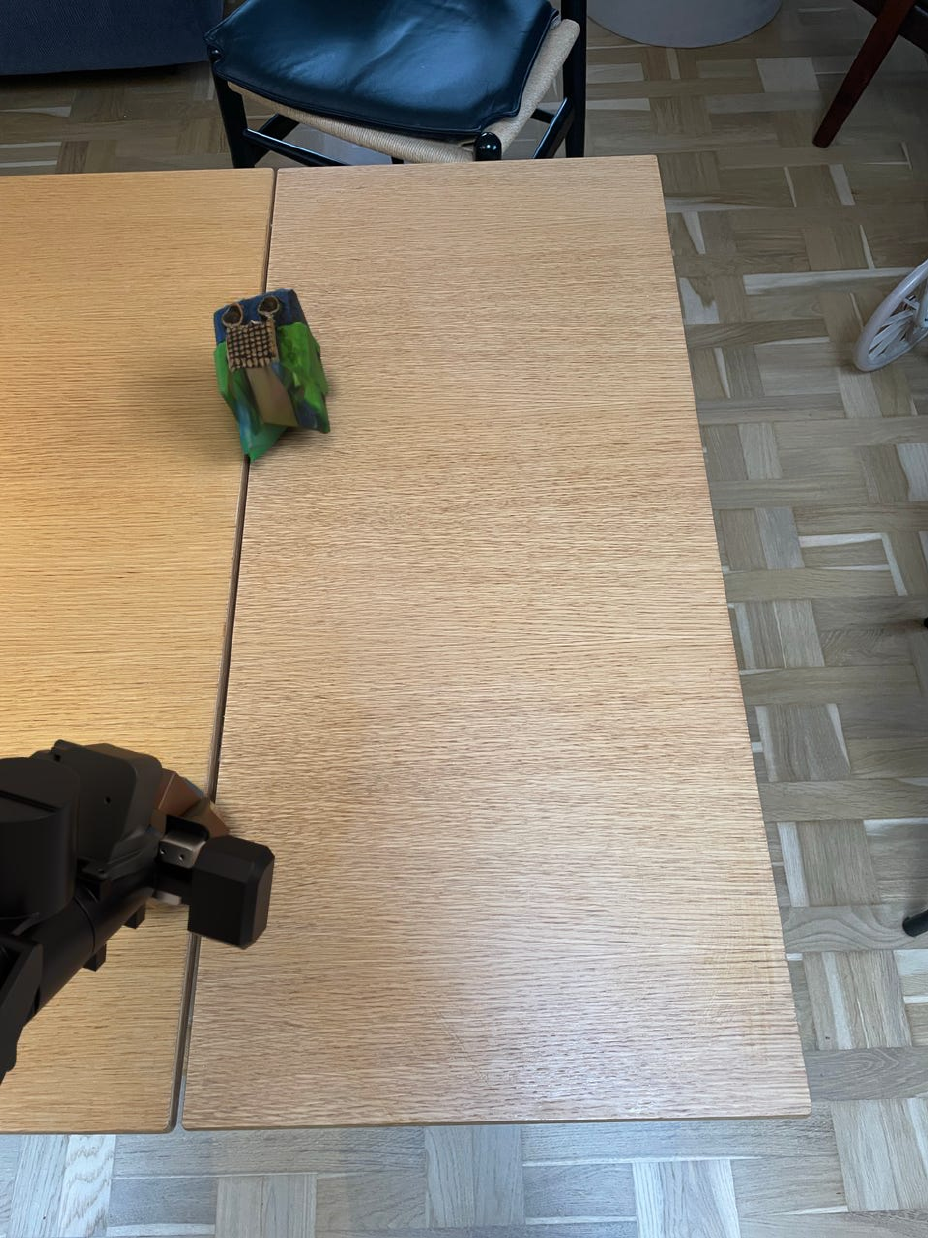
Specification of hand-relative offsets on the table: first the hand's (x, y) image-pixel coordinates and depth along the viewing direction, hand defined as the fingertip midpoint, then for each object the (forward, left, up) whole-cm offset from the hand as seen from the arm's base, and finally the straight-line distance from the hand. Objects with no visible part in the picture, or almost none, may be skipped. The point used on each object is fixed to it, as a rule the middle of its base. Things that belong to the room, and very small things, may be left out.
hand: (189, 797), depth 67 cm
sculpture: (+36, +27, -14) cm, 47 cm away
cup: (-3, +4, -13) cm, 15 cm away
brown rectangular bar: (-1, 0, -7) cm, 7 cm away
